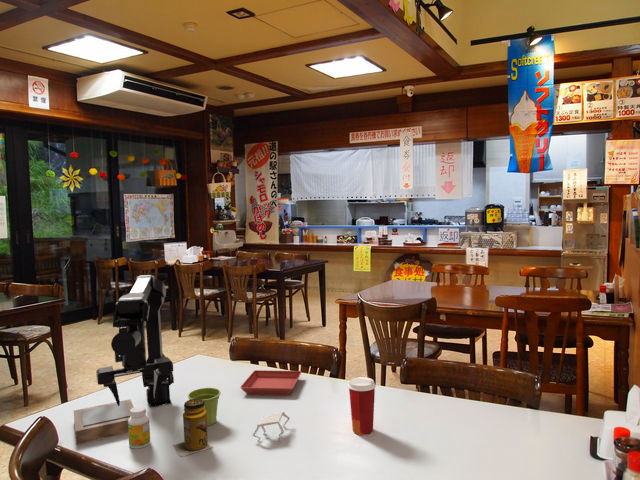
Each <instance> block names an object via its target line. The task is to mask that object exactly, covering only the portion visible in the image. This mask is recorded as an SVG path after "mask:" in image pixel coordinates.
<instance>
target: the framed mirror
mask: <svg viewBox="0 0 640 480" xmlns="http://www.w3.org/2000/svg"><path fill="white" fill-rule="evenodd" d="M134 407H135V406H134V404H133V402H132V399H125V400H120V406H118V405H117V402H116V401H115V402H110V403H109V402H108V403H105V404H101V405H95V406H89V407H86V408H80V409H76V410H73V420H74V421H73V423H74V424H73V425H74V431H75V433H74V434H75V442H76V443H75V445H76V446H77V445H80V444H85V443H89V442H94V441H99V440H102V439H107V438H111V437H115V436H119V435H125V434H128V419H129V418H130V417H131V416H130V410H131V409H132V408H134Z"/></svg>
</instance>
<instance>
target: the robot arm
mask: <svg viewBox="0 0 640 480" xmlns="http://www.w3.org/2000/svg"><path fill="white" fill-rule="evenodd" d="M166 295H167V289H166V285H165V283H164V281H162V280H159V279H158V278H157V277H156V276H155V275H152V274H144V275H143V274H142V275H141V274H140V275H139V276H136V278H135V282H134V285H133V286H132V288H131V290H130V292H129V293H127V294H124V295H122V296H120V297H119V299H117V302H116V303H115V307H114V313H113V321H112V328H118V333H116V334H115V335H114V336H113V337H112V340H111V342H110V343H111V344H110V347H111V349H112V351H113V352H114V362H115V363H116V364H117V363H121V366H122V367H123V368H122V367H121V368H117V369H114V367H113V366H112V365H111V366H106V367H99V368H97V370H96V381H97V385H99V386H100V385H101V386H102V385H103V387H104V388H108V389H109V391H110V392H111V394H112V395H113V397H114V400H115V402H117V405H118V406H120V401H121V400H120V397H119V396H120V395H119V390H118V385H117V381H116V378H119V377H123V376H130V375H136V374H141V377H142V384H143V388H146V387H147V389H146V390H145V392H146V403H147V404H148V405H149V407H150V408H154V407H155V408H156V407H160V406H165V405H169V404H172V401H171V394H170V392H171V390H170V386H171V385H172V384H174V382H175V379H174V378H175V377H174V363H173V361H172V360H171V359H170V357H168V356H167V357H166V355H165V354H164V353H163V341H162V339H163V337H162V323H161V308H162V306H163V304H164V302H165V298H166ZM145 328H146V329H145ZM145 330H146V332H145ZM146 341H147V343H146ZM146 344H147V349H146ZM146 350H147V351H146Z"/></svg>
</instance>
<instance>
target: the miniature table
mask: <svg viewBox="0 0 640 480" xmlns="http://www.w3.org/2000/svg"><path fill="white" fill-rule="evenodd" d="M282 417H285V418H286V420H285V422H284V424H283V425H281V423H280V422H281V420H282ZM290 418H291V417H289V416H288V415H287V414H286V413H285V411H280V412H276V413H275V412H274V413H271V414H269V415H267V416H264V417H262V419H261V420H260V422H258V424H257V425H256V428H255V430H254V432H253V433H252V437H254V438H257V439H258V440H257V442H259V441H260V440H261V439H262V437H260V436H257V435H256V434H257V432H258V431H259V429H260V428H261V429H262V431H263V434H262V435H265V434H266V432H267V431H266V429H265V426H269V425H278V427H279V429H280V433H279V434H278V438H279V440H280V441H282V440H283V438H282V435H283V434H284V433H285V430H287V429H288V428H287V427H286V426H285V425H286V424H287V423H288V422H289V420H290ZM283 428H284V429H285V430H284V429H283Z"/></svg>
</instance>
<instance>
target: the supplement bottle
mask: <svg viewBox="0 0 640 480" xmlns="http://www.w3.org/2000/svg"><path fill="white" fill-rule="evenodd" d="M133 407H134V408H132V409H131V410H130V416H131V417H130V418H129V419H128V433H127V434H128V446H129V447H130V448H131V449H143V448H145V447H147V446H149V445H150V443H151V428H150V417H149V415H148V414H147V407H145V406H144V405H139V406H133Z"/></svg>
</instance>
